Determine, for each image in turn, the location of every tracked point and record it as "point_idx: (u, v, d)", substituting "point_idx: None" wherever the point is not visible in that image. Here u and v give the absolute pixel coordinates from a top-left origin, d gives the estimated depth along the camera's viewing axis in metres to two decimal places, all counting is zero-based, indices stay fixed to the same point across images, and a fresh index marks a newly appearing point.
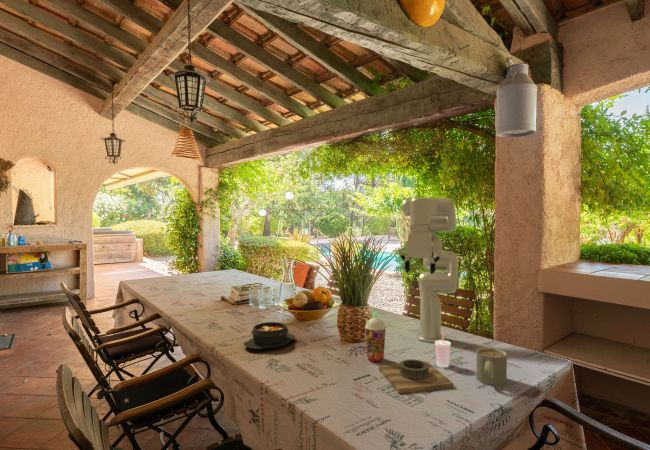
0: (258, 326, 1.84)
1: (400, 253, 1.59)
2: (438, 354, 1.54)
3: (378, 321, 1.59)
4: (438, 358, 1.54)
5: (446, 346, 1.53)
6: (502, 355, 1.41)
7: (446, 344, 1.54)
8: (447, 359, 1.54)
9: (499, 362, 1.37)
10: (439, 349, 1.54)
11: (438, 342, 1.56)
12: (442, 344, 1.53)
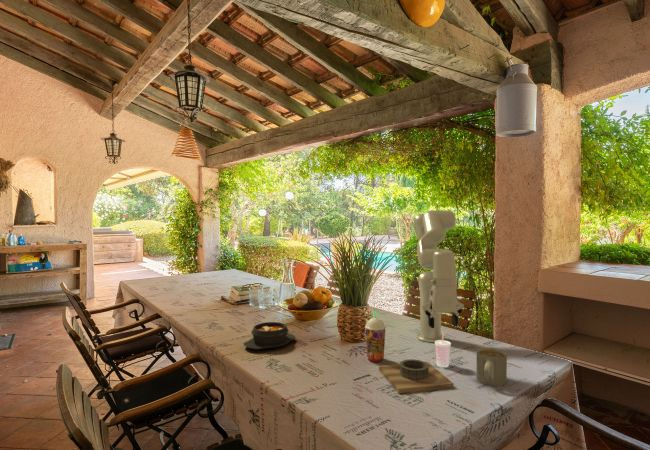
0: (258, 326, 1.84)
1: None
2: (438, 354, 1.54)
3: (378, 321, 1.59)
4: (438, 358, 1.54)
5: (446, 346, 1.53)
6: (502, 355, 1.41)
7: (446, 344, 1.54)
8: (447, 359, 1.54)
9: (499, 362, 1.37)
10: (439, 349, 1.54)
11: (438, 342, 1.56)
12: (442, 344, 1.53)
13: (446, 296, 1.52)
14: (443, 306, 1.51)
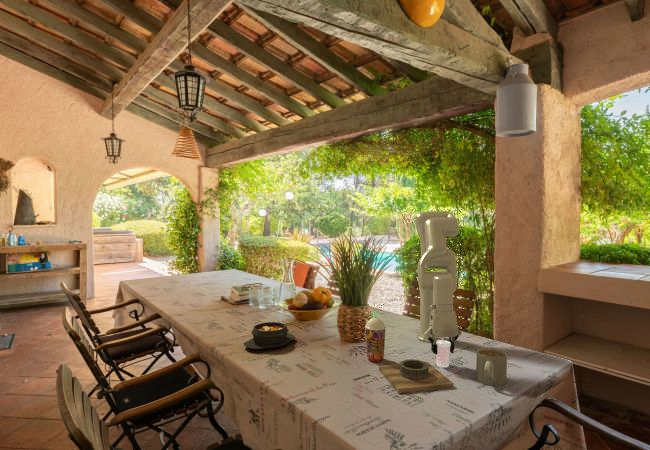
0: (258, 326, 1.84)
1: None
2: (438, 354, 1.54)
3: (378, 321, 1.59)
4: (438, 358, 1.54)
5: (446, 346, 1.53)
6: (502, 355, 1.41)
7: (446, 344, 1.54)
8: (447, 359, 1.54)
9: (499, 362, 1.37)
10: (439, 349, 1.54)
11: (438, 342, 1.56)
12: (442, 344, 1.53)
13: (445, 321, 1.52)
14: (443, 331, 1.52)
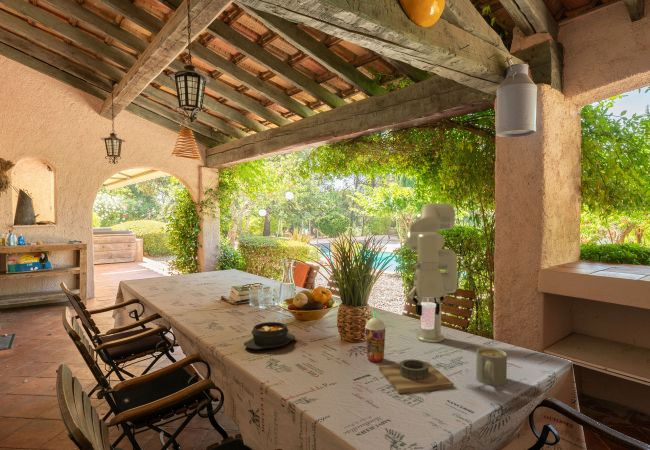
0: (258, 326, 1.84)
1: None
2: (423, 316, 1.47)
3: (378, 321, 1.59)
4: (423, 320, 1.47)
5: (431, 307, 1.45)
6: (502, 355, 1.41)
7: (431, 305, 1.46)
8: (432, 321, 1.46)
9: (499, 362, 1.37)
10: (424, 311, 1.46)
11: (423, 303, 1.48)
12: (427, 305, 1.46)
13: (430, 281, 1.45)
14: (427, 291, 1.45)
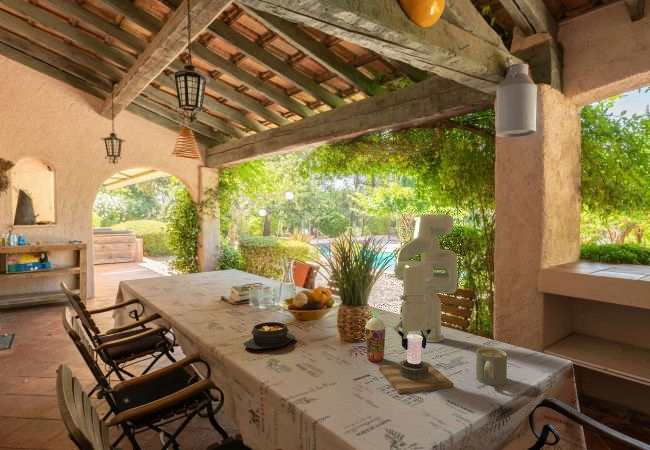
0: (258, 326, 1.84)
1: None
2: (409, 349, 1.42)
3: (378, 321, 1.59)
4: (409, 354, 1.42)
5: (417, 341, 1.40)
6: (502, 355, 1.41)
7: (417, 338, 1.41)
8: (418, 355, 1.41)
9: (499, 362, 1.37)
10: (410, 344, 1.41)
11: (409, 336, 1.44)
12: (413, 338, 1.41)
13: (416, 314, 1.40)
14: (413, 324, 1.40)
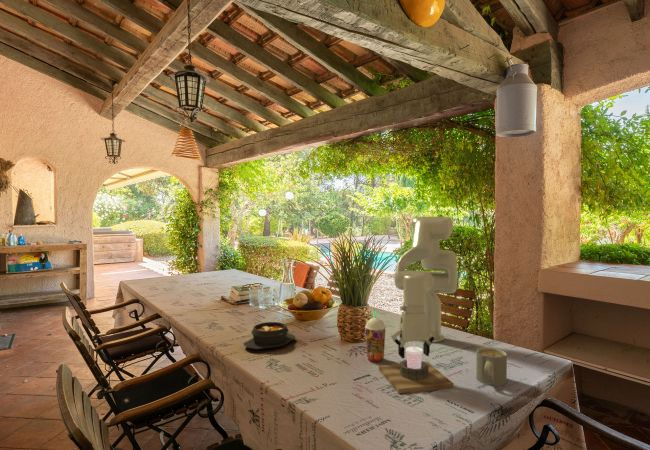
0: (258, 326, 1.84)
1: None
2: (409, 362, 1.42)
3: (378, 321, 1.59)
4: (409, 366, 1.42)
5: (417, 353, 1.41)
6: (502, 355, 1.41)
7: (417, 351, 1.42)
8: (418, 367, 1.42)
9: (499, 362, 1.37)
10: (410, 357, 1.42)
11: (409, 349, 1.44)
12: (413, 351, 1.42)
13: (416, 324, 1.40)
14: (413, 335, 1.40)
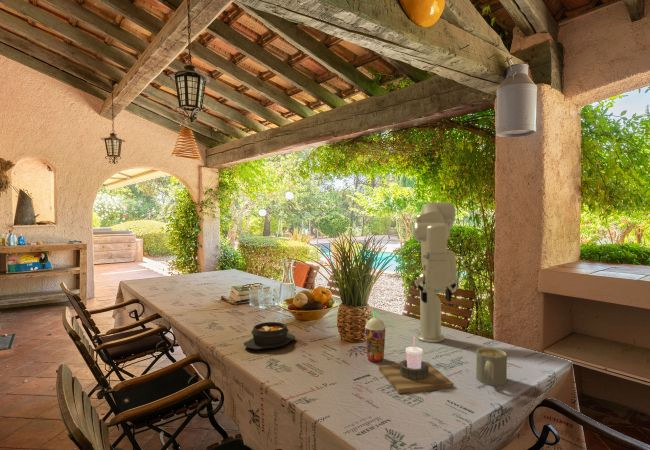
0: (258, 326, 1.84)
1: None
2: (409, 362, 1.42)
3: (378, 321, 1.59)
4: (409, 366, 1.42)
5: (417, 353, 1.41)
6: (502, 355, 1.41)
7: (417, 351, 1.42)
8: (418, 367, 1.42)
9: (499, 362, 1.37)
10: (410, 357, 1.42)
11: (409, 349, 1.44)
12: (413, 351, 1.42)
13: (439, 271, 1.48)
14: (436, 281, 1.48)
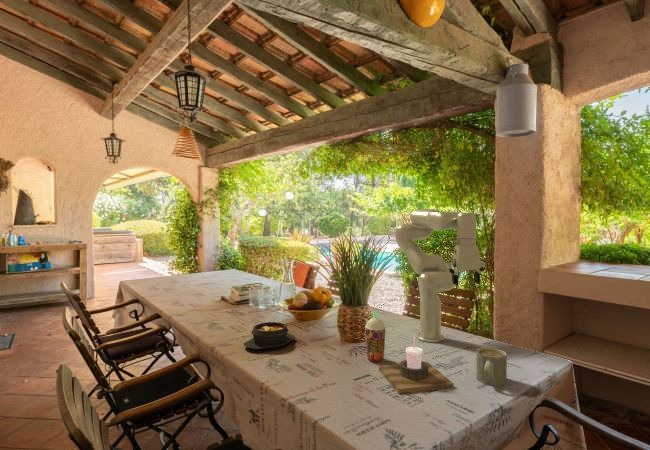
0: (258, 326, 1.84)
1: None
2: (409, 362, 1.42)
3: (378, 321, 1.59)
4: (409, 366, 1.42)
5: (417, 353, 1.41)
6: (502, 355, 1.41)
7: (417, 351, 1.42)
8: (418, 367, 1.42)
9: (499, 362, 1.37)
10: (410, 357, 1.42)
11: (409, 349, 1.44)
12: (413, 351, 1.42)
13: (469, 255, 1.61)
14: (466, 264, 1.61)
